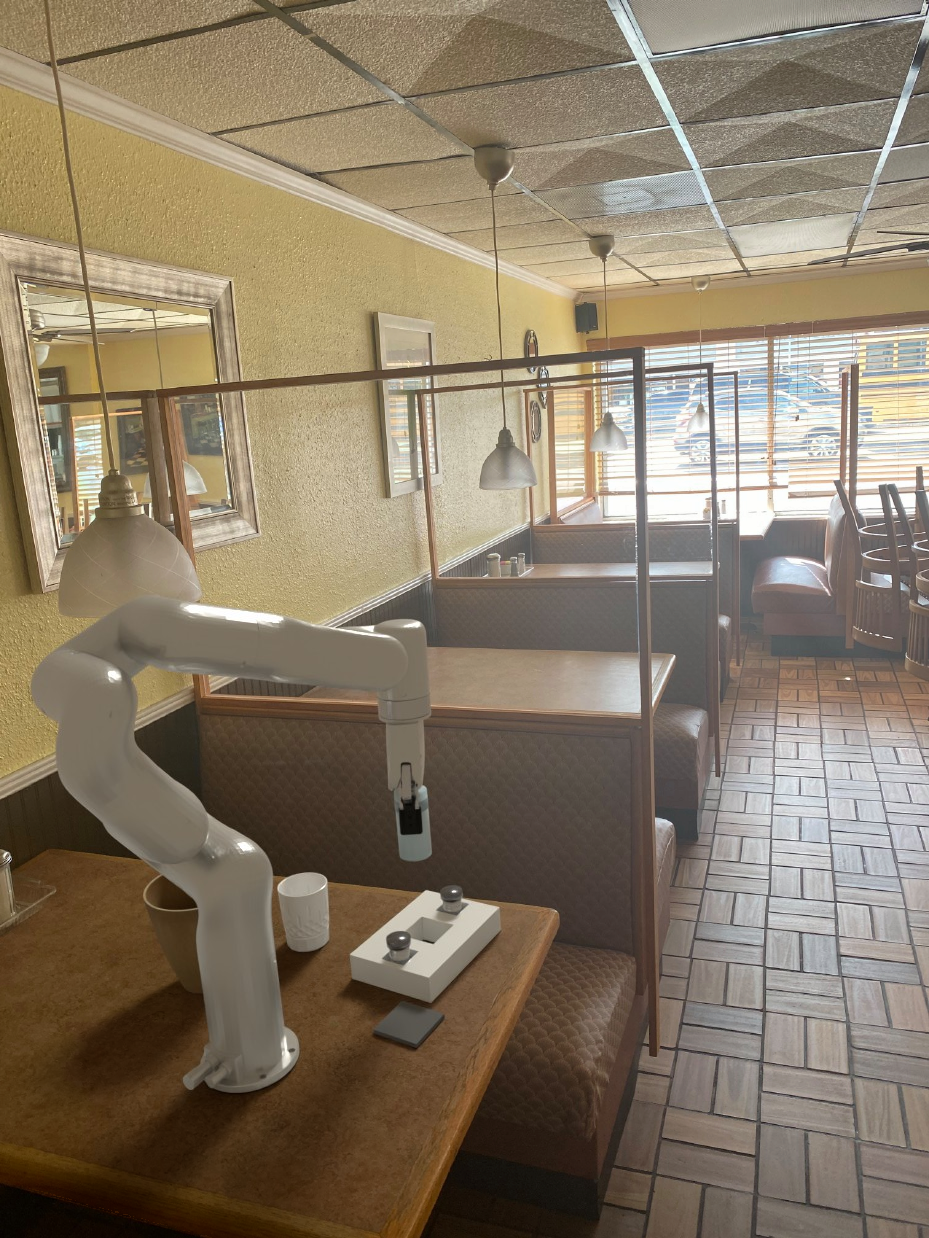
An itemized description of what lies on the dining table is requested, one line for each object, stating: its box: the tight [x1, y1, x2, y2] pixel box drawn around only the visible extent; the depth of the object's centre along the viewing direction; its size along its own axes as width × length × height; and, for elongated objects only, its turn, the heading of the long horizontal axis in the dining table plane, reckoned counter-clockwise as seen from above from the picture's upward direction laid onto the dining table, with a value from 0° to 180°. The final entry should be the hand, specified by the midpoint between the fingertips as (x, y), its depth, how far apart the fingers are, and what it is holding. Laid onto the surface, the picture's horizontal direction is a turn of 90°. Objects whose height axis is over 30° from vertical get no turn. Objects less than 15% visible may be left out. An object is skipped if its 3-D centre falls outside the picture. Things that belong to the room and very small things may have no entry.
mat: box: [372, 1000, 445, 1049], centre depth 125 cm, size 7×7×1 cm
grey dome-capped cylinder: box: [386, 931, 411, 965], centre depth 135 cm, size 4×4×6 cm
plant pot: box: [142, 873, 203, 994], centre depth 138 cm, size 15×15×16 cm
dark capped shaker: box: [439, 884, 464, 916], centre depth 148 cm, size 4×4×6 cm
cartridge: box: [393, 784, 433, 862], centre depth 135 cm, size 5×5×10 cm
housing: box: [349, 889, 502, 1004], centre depth 142 cm, size 21×14×4 cm, turn 150°
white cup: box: [276, 872, 330, 953], centre depth 147 cm, size 8×8×10 cm
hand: (412, 824), depth 135 cm, fingers closed on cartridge, 4 cm apart
